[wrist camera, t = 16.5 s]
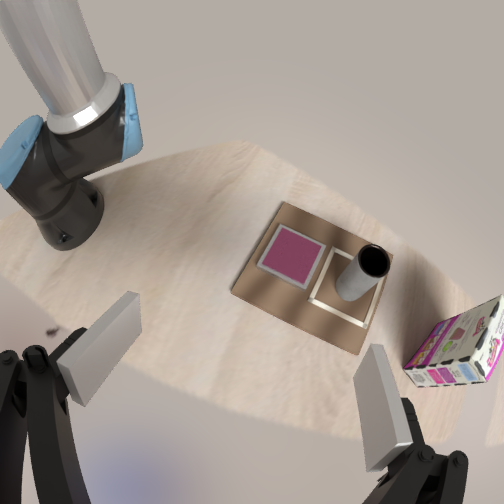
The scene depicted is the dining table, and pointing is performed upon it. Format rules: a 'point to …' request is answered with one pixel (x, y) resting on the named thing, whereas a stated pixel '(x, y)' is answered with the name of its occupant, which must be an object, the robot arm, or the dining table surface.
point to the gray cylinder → (363, 272)
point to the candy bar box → (461, 348)
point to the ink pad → (291, 257)
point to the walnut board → (314, 285)
